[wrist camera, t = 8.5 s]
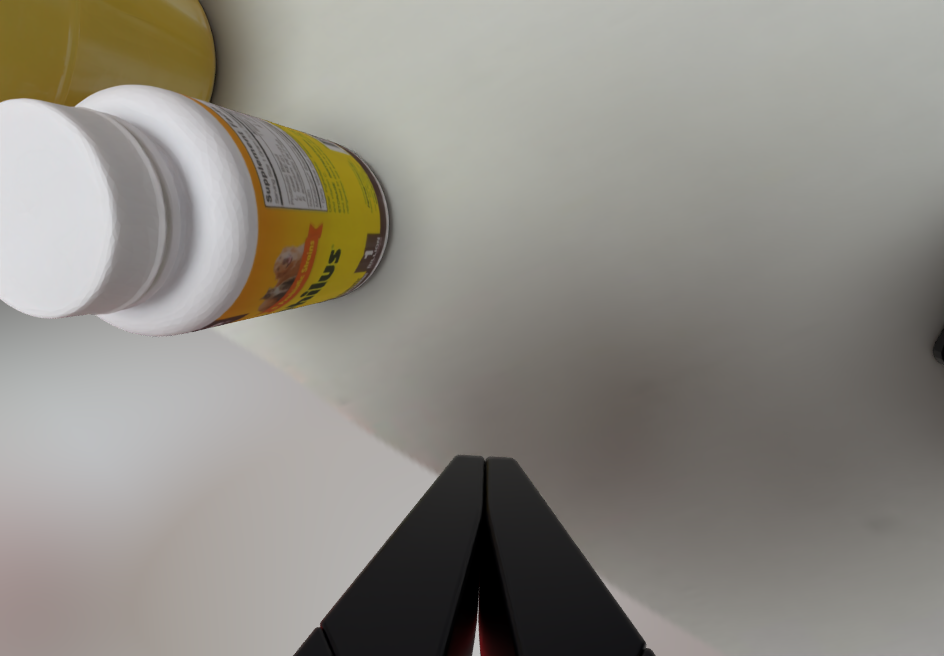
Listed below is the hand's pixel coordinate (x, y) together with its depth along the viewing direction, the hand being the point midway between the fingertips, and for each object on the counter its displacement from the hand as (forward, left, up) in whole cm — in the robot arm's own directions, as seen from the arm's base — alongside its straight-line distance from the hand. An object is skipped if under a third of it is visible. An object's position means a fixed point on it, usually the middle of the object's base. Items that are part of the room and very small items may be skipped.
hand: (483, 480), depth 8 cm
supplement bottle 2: (+9, -1, -11) cm, 14 cm away
